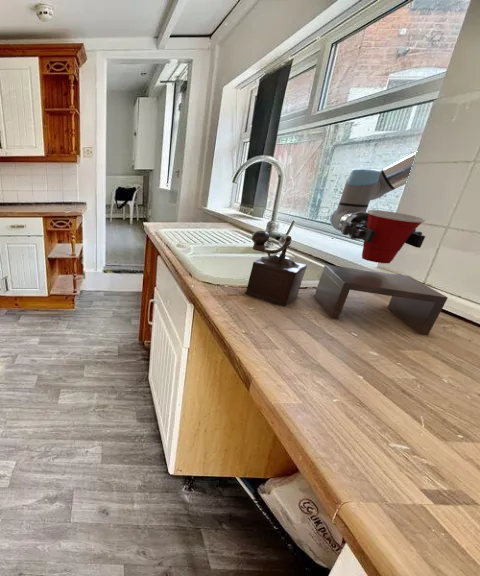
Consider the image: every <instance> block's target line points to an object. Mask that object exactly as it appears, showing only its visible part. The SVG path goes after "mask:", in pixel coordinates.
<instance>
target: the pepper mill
mask: <svg viewBox="0 0 480 576" xmlns="http://www.w3.org/2000/svg"><path fill="white" fill-rule="evenodd" d="M251 240H252V242H253V245H252V250H254V251H256V252H261V253H264V254H267V256H266V255H265V256H261V257H260V258H258V259H257V260H255V261H253V262H252V267H251V271H250V274H249V278H248V281H247V286H246V290H245V291H244V294H245V295H247V296H249V297H252V298H254V299H257V300H261V301H263V302H267V303H270V304H273V305H276V306H277V305H278V306H281V307H288V306H289V305H290V304H291V303H292V302H293V301H295V300H296V298H297V297H298V294H299V291H300V288H301V285H302V282H303V279H304V276H305V273H306V270H307V267H308V265H307V264H305V263H301V262H295V261H294V259H292V258H291V257H288V256H287V255H286V253H287V250H288V247H289V246H290V244H291V241H292V236H291V235H286V237H285V238H284V241H283V243H282V245H281V246H280V247H279V248H277V249H267V248H266V246H265V244H266V242H268V241H269V240H270V234H269V232H266V231H265V230H257V231H254V232H253V233H252V234H251ZM280 252H281V253H280Z"/></svg>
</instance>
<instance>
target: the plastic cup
mask: <svg viewBox="0 0 480 576" xmlns="http://www.w3.org/2000/svg"><path fill="white" fill-rule="evenodd" d="M367 213H368V222H367V228H368V229H371V230H373V231H376V232H375V234H374V237H373V239H372V242H366V241H364V240H363V247H362V253H361V259H363V260H365V261H368V262H373V263H376V264H377V263H378V264H390V263H391V262H393V260H394V259H395V257H396V256H397V255H398V253H399V252H400V250H401V249H402V248H403V246H404V245H405V244H406V243H405V242H406V241H407V239H408V238H409V236H410V235H411V234H412V232H413V231H414V230H415V229H416V230H417V228H418V227H419V226H420V225H421V224H422V223H424V222H426V219H425V218H422V217H420V216H415V215H411V214H407V213H401V212H395V211H387V210H378V209H367Z"/></svg>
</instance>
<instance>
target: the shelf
mask: <svg viewBox="0 0 480 576" xmlns="http://www.w3.org/2000/svg"><path fill="white" fill-rule="evenodd" d="M350 291H354V292H362V293H368V294H375V295H382V296H388V297H390V300H389V303H388V305H387V308H388V310H390V311H391V312H393V314H395V315H396V316H397V317H398V318H399V319H401V320H402V321H403V322H405V323H406V325H408V326H410V328H412V329H413V330H414V331H415V332H417V333H418V334H419V335H425V336H429V335H430V333H431V330H432V329H433V327H434V325H435V324H436V321H437V320H438V317H439V316H440V313H442V310H443V308H444V306H445V304H446V302H447V301H448V299H449V297H448V296H446V295H444V294H442V293H440V292H439V291H437V290H435V289H434V288H432V287H430V286H428V285H427V284H425V283H423V282H421V281H420V280H417V279H415V278H414V277H412V276H411V275H406V274H398V273H392V272H391V273H390V272H383V271H374V270H367V269H361V268H360V269H359V268H352V267H344V266H338V265H329V264H324V267H323V269H322V272H321V275H320V278H319V280H318V284H317V286H316V289H315V292H314V297H315V299H316V300H317V301H318V303H319V304H320V305H321V307H322V308H323V309H324V310H325V312H326V313H327V315H328V317H329V318H331V319H335V320H339V319H340V316H341V313H342V312H343V309H344V306H345V304H346V301H347V298H348V297H349V293H350Z"/></svg>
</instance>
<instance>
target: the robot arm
mask: <svg viewBox="0 0 480 576" xmlns="http://www.w3.org/2000/svg"><path fill="white" fill-rule="evenodd" d="M415 155H416V152H414V153H412V154H410V155H408V156H406V157H404V158H402V159H400V160H399V161H396V162H394V163H393V164H390V165H388V166H387V167H385V168H383V169H381V170H379V169H370V168H369V169H368V168H353V169H351V170H350V172H349V173H348V176H347V178H346V180H345V184H344V188H343V190H342V193H341V197H340V199H339V202H338V205H337V208H336V209H335V210H334V211H333V212H332V213H331V214H330V217H329V222H330V225H331V226H332V227H333V228H334V229H335V230H337V231H339V232H341V234H342V235H343V236H348V238H350V239H351V240H362V241H363V242H364V241H366V242H372V239H373V237H374V234H375V232H376V231H373V230H371V229H368V228H367V222H368V207H369V205H370V202H371V201H374V200H378V199H380V198H381V197H383V196H384V195H385V194H388V193H390V192H393V191H394V190H396V189H399V188H401V187H402V186H405V185H407V184H406V181H407V179H408V176H409V173H410V170H411V167H412V164H413V161H414V158H415ZM425 238H426V235H423V232H422V231H417V228H416V229H415V230H414V231H413V232H412V234H411V235H410V236H409V238H408V239H407V241H406V242H405V243H404V244H406V245H409V246H412V247H413V248H420V249H421V247H422V245H423V243H424V240H425Z"/></svg>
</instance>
